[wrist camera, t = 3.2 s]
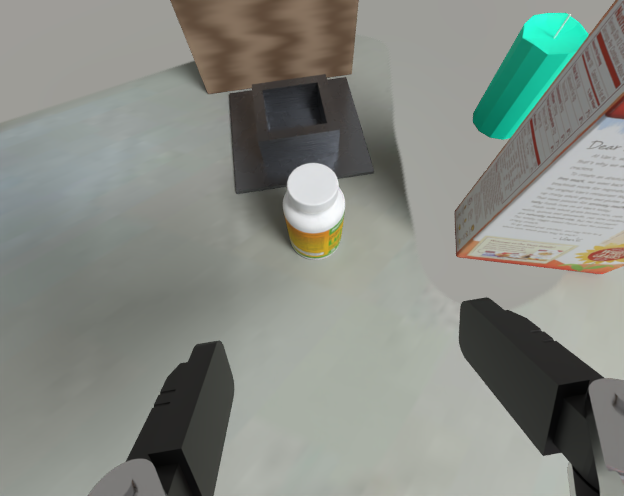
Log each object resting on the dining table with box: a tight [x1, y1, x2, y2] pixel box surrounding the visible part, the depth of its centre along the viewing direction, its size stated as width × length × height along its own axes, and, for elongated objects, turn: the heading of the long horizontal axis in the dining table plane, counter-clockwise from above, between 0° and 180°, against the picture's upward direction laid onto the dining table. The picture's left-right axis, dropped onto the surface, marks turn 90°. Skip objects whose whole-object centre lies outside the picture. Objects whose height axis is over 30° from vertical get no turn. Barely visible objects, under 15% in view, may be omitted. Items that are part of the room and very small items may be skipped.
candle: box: [473, 13, 589, 140], centre depth 32 cm, size 6×6×12 cm
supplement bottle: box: [283, 163, 345, 260], centre depth 27 cm, size 5×5×10 cm
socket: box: [230, 74, 374, 194], centre depth 36 cm, size 16×16×4 cm
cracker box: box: [455, 0, 624, 274], centre depth 21 cm, size 14×6×21 cm, turn 81°
